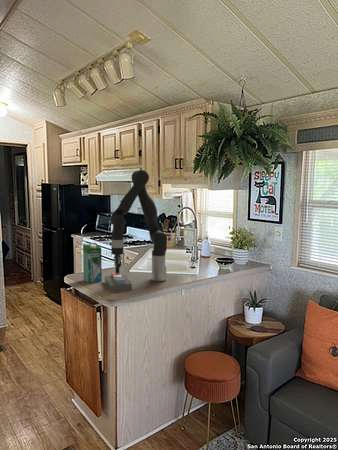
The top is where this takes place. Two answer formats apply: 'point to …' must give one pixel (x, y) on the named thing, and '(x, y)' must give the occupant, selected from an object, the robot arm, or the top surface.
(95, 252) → the milk carton
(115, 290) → the key panel
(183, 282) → the top surface
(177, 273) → the top surface
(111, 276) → the red key
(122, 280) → the blue key
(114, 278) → the white key
